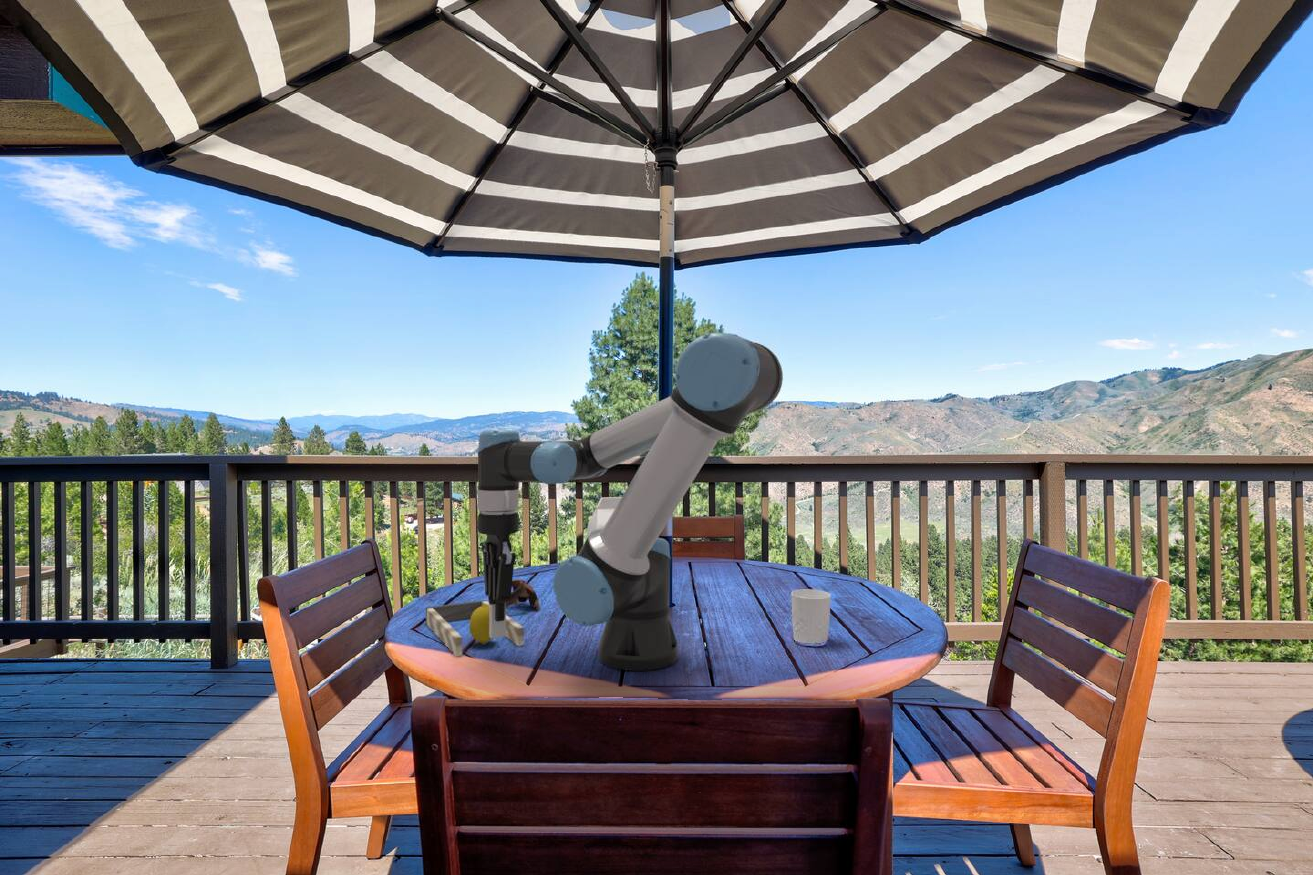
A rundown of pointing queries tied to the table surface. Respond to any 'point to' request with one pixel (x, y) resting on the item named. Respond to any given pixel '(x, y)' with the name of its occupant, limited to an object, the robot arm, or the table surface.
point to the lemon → (480, 624)
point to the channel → (461, 611)
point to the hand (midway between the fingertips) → (497, 636)
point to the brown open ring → (523, 594)
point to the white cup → (810, 615)
